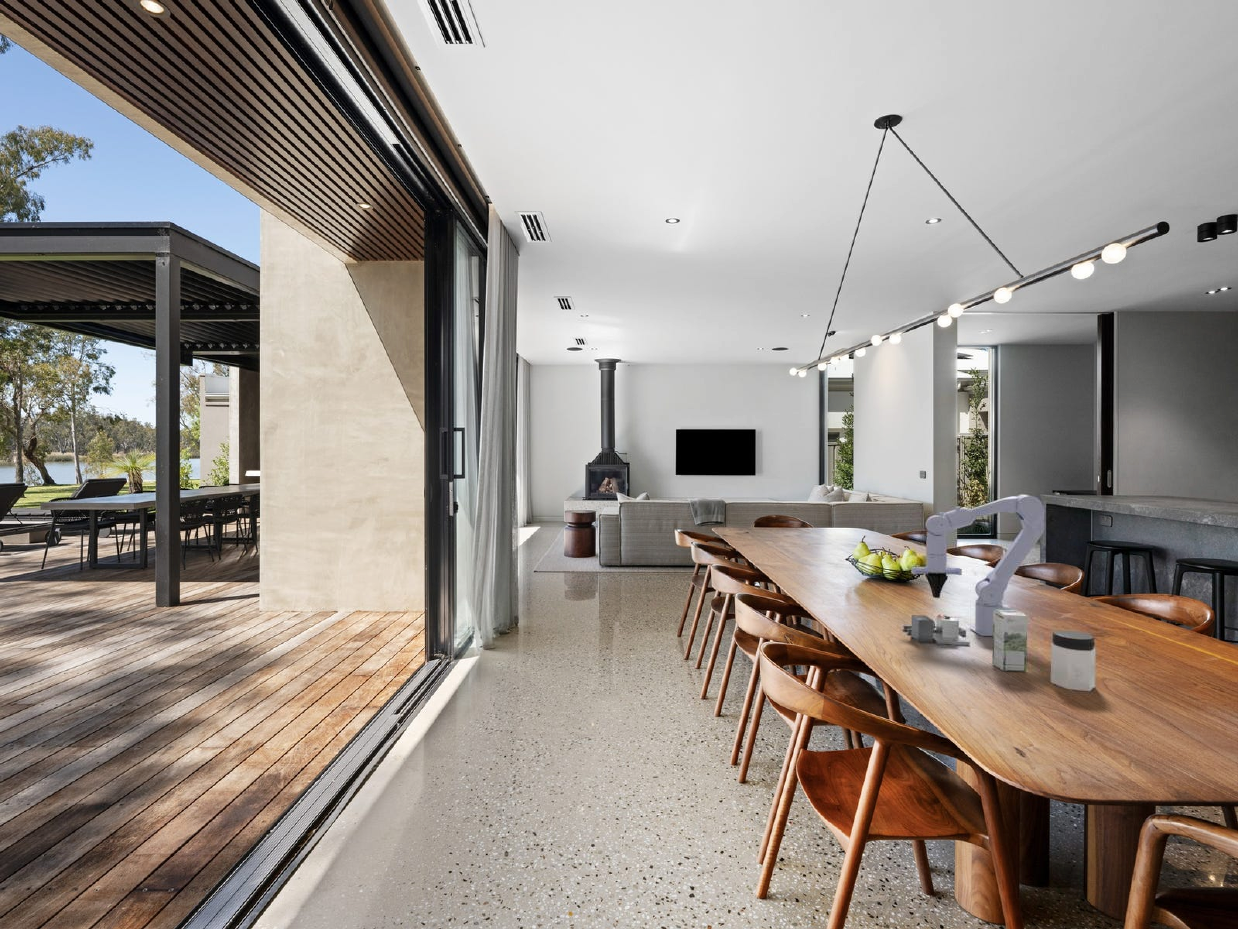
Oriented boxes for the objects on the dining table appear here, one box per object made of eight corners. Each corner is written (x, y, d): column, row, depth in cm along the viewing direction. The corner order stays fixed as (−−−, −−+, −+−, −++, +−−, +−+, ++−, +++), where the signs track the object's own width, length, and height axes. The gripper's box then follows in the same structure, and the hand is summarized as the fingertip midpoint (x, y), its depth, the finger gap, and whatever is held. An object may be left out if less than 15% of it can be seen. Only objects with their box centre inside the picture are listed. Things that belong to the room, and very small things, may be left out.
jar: (1056, 689, 150) (1057, 637, 149) (1045, 677, 157) (1045, 628, 157) (1102, 693, 147) (1102, 641, 147) (1088, 681, 155) (1088, 631, 155)
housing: (952, 635, 191) (952, 614, 191) (958, 639, 186) (958, 618, 186) (936, 634, 191) (936, 614, 191) (942, 639, 187) (942, 618, 187)
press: (960, 631, 198) (960, 610, 198) (981, 646, 183) (982, 623, 183) (903, 630, 200) (903, 609, 200) (920, 644, 185) (920, 621, 185)
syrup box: (1015, 665, 167) (1015, 609, 167) (1027, 672, 161) (1027, 614, 161) (991, 664, 167) (992, 608, 167) (1003, 671, 161) (1003, 614, 161)
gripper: (955, 552, 205) (954, 595, 205) (907, 551, 207) (907, 594, 207) (964, 555, 198) (964, 599, 198) (915, 555, 200) (915, 598, 200)
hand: (936, 597), depth 202 cm, fingers closed
